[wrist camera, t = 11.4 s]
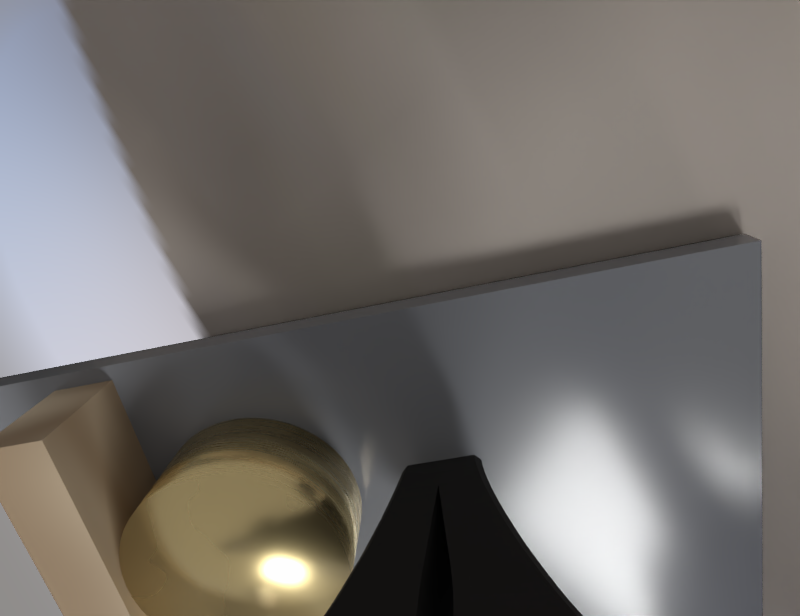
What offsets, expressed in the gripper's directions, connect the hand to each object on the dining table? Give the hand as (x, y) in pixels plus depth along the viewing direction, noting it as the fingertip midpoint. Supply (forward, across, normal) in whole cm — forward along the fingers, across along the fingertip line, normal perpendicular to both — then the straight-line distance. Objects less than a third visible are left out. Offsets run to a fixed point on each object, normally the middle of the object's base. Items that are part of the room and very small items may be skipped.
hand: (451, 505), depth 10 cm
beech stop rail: (+1, +6, 0) cm, 6 cm away
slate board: (+1, +2, +5) cm, 5 cm away
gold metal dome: (+1, +4, 0) cm, 4 cm away
